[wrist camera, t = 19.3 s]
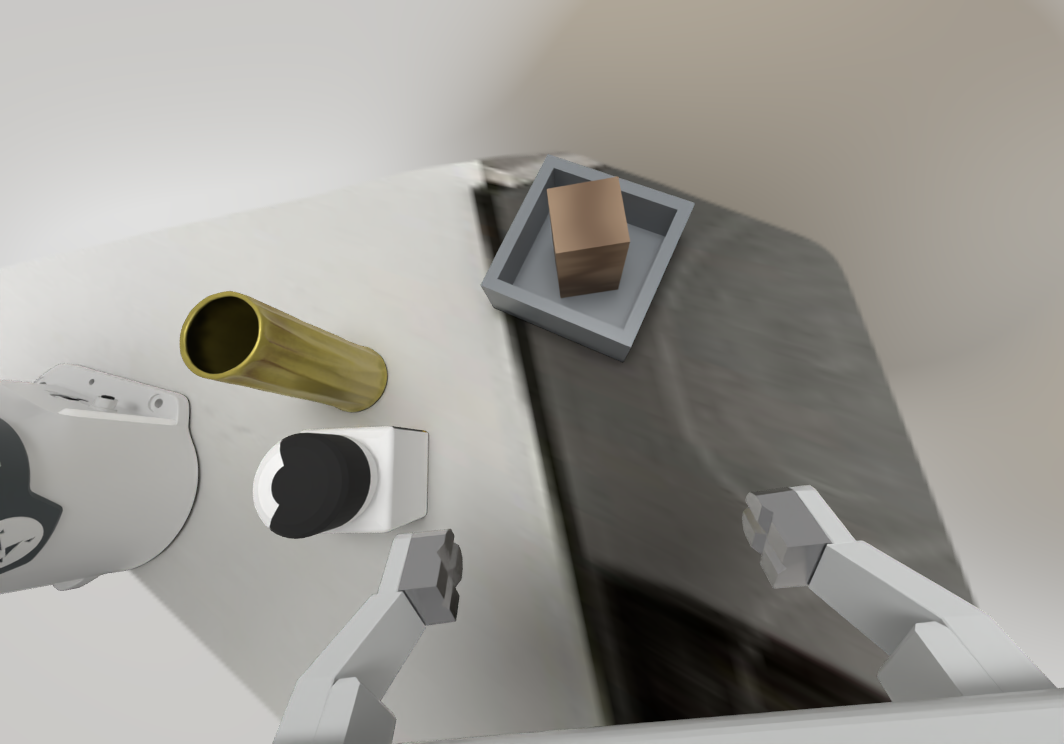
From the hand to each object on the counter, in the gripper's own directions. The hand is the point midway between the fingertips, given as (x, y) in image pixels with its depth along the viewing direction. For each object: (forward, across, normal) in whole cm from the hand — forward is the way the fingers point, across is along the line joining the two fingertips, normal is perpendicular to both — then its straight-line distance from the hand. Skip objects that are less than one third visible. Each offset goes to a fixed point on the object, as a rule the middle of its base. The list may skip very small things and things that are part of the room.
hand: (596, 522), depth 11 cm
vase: (+24, +19, +8) cm, 31 cm away
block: (+27, -3, +3) cm, 28 cm away
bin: (+28, -3, +3) cm, 28 cm away
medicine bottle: (+17, +16, +14) cm, 28 cm away
